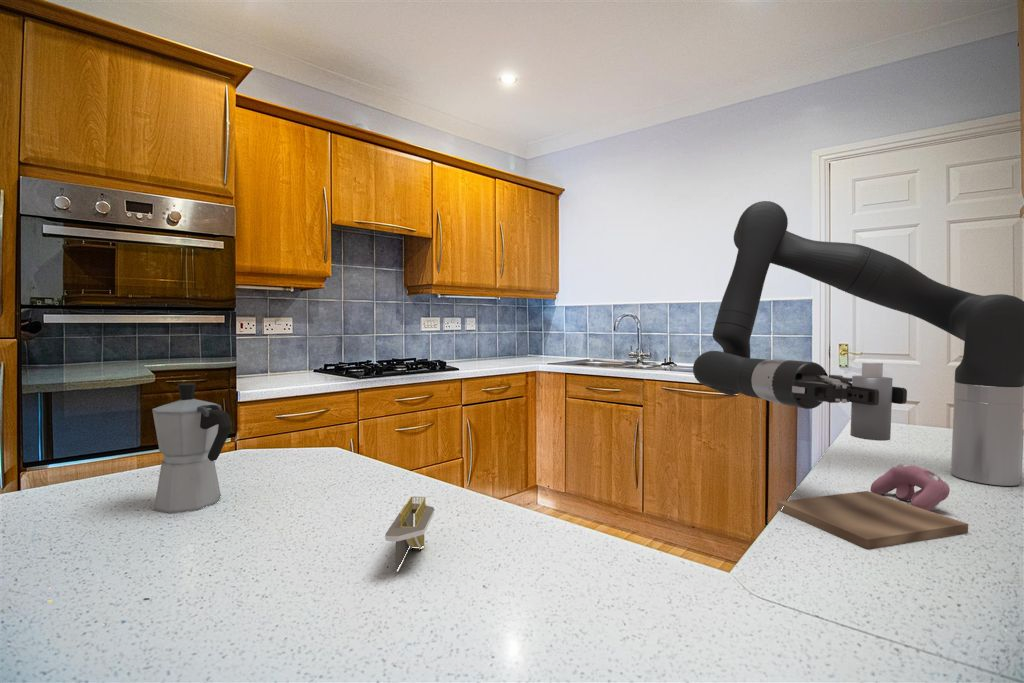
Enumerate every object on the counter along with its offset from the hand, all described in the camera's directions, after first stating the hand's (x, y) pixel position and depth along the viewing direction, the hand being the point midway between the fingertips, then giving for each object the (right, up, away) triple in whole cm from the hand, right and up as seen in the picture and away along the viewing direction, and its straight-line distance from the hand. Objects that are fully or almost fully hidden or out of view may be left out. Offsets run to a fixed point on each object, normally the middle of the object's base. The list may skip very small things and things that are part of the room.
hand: (890, 396), depth 69 cm
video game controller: (+10, -18, +10) cm, 23 cm away
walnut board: (-1, -18, +3) cm, 18 cm away
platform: (-63, -18, -10) cm, 66 cm away
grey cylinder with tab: (-1, -6, +3) cm, 7 cm away
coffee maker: (-99, -17, +7) cm, 100 cm away
